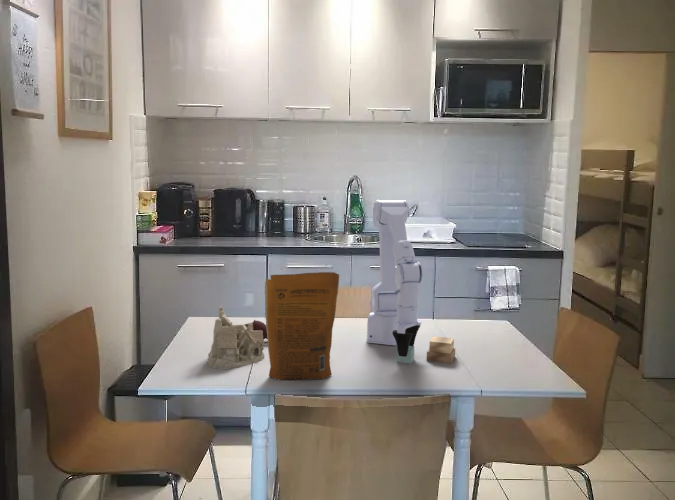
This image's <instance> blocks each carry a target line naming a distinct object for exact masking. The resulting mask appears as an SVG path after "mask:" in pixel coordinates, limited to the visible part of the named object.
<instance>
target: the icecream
mask: <svg viewBox="0 0 675 500" xmlns="http://www.w3.org/2000/svg"><path fill="white" fill-rule="evenodd" d="M251 323H252V324H253V331H259V330H261V331H262V332H263V340H264V341H265V339H266V340H267V341H268V339H267V329H266V323H265V322H263V321H260V320H256V319H253V321H251ZM243 324H244V323H243ZM244 325H245V326H246V327H247V328H248V323H245V324H244Z"/></svg>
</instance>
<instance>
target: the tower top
mask: <svg viewBox="0 0 675 500" xmlns="http://www.w3.org/2000/svg"><path fill="white" fill-rule="evenodd" d="M454 345H455V338H453V337H444V336H437V335H436V336H435V335H433V336H432V338H431V339H430V340H429V346H428V347H429V348H428V350H429V352H437V353H446V354H451V352H452V350H453V348H455V346H454Z"/></svg>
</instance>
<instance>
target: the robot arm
mask: <svg viewBox="0 0 675 500" xmlns="http://www.w3.org/2000/svg"><path fill="white" fill-rule="evenodd" d="M409 211H410V207H409V204H408V202H407V200H406V199H403V200H396V199H395V200H384V199H382V200H379V199H377V200H375V202H374V203H373V207H372V215H373V216H372V222H373V227H374V228H377V229H378V234H379V235H378V237H379V238H378V239H379V277H380V278H379V282H378V283H377V284H376V285H374V286H373V287H372V288H371V295H370V308H371V311H372V312H370V313H369V314H368V317H367V329H366V333H367V335H366V341H365V342H366V343H367V344H368V343H369V344H377V345H379V344H380V345H387V346H396V347H397V349H398V354H399V356H403V357H406V356H407V353H408V348H409V346H414V345H415V342H416V341H415V340H416V337H417V334H418V331H419V329H420V328H421V325H422V321H421V320H418V311H419V310H418V309H419V308H418V307H419V286H420V285H419V284H421V283H422V281H423V280H422V279H423V268H422V264H421V263H420V262H419V260H418V259H417V258H416V255H415V250H414V247H413V244H412V242H410V241H409V240H408V237H407V236H408V235H407V229H406V223H407V220H408V218H409V213H410V212H409ZM414 347H415V346H414Z"/></svg>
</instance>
